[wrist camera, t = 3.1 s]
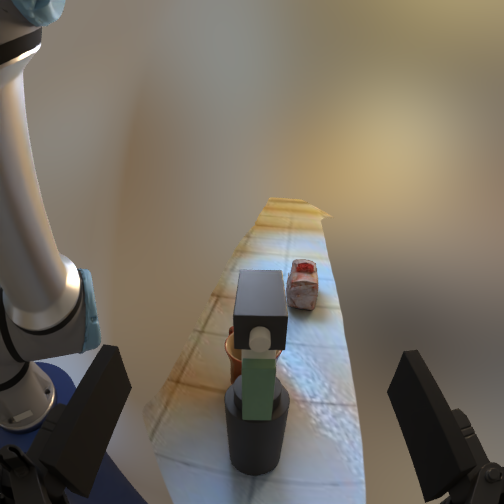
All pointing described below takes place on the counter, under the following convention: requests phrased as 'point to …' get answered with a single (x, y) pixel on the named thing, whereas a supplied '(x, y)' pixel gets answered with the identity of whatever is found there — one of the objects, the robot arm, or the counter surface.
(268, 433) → the spray bottle
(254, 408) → the trigger
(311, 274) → the food item
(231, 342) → the mug
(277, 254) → the counter surface
